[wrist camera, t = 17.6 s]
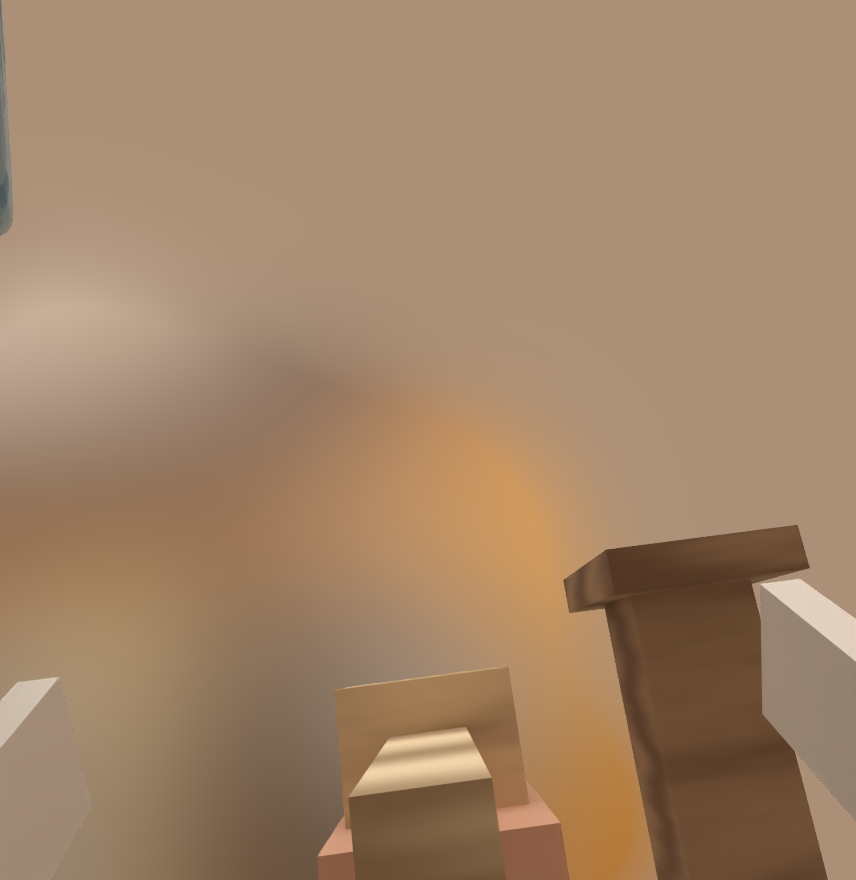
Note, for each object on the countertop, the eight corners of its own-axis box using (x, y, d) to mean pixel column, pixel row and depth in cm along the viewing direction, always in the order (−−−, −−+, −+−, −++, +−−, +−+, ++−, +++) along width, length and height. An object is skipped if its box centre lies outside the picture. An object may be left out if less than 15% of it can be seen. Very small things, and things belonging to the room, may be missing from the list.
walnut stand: (673, 1188, 36) (563, 580, 45) (851, 1162, 36) (706, 561, 45) (783, 1431, 25) (606, 549, 33) (1042, 1390, 25) (797, 524, 34)
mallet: (361, 801, 33) (351, 686, 35) (513, 780, 33) (496, 667, 35) (259, 980, 14) (246, 708, 16) (615, 929, 14) (569, 664, 16)
